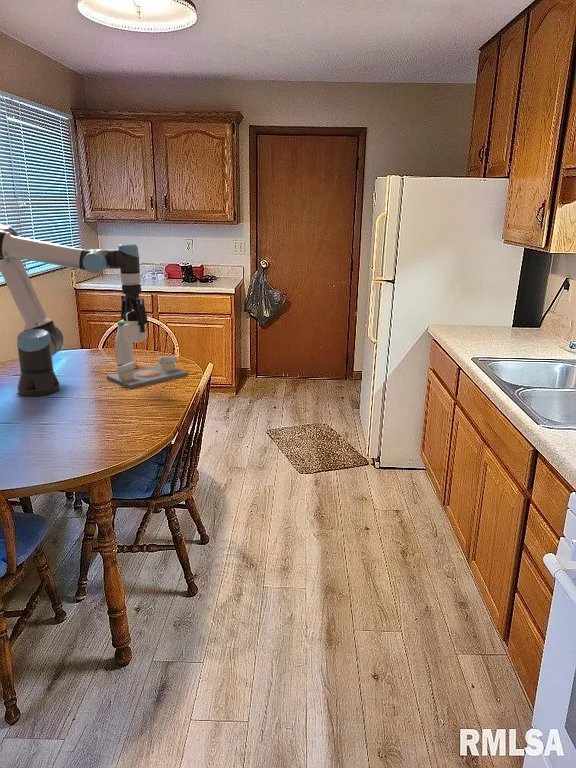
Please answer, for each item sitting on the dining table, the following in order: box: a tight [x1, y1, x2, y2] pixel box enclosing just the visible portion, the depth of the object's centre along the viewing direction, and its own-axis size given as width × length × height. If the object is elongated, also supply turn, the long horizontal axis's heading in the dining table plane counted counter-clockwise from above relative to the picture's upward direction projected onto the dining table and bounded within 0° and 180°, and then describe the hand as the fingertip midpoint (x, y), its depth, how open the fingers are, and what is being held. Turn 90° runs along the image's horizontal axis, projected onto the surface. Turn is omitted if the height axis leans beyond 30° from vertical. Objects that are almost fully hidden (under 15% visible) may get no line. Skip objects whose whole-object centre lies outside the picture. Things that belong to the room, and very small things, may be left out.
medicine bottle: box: [123, 310, 148, 344], centre depth 228 cm, size 7×7×12 cm
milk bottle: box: [114, 320, 134, 366], centre depth 257 cm, size 8×8×20 cm
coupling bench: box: [106, 355, 189, 390], centre depth 239 cm, size 29×18×8 cm, turn 137°
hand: (135, 337), depth 230 cm, fingers closed on medicine bottle, 10 cm apart
